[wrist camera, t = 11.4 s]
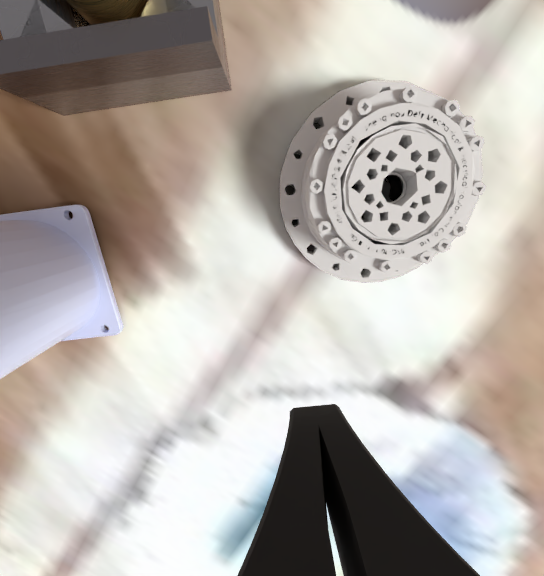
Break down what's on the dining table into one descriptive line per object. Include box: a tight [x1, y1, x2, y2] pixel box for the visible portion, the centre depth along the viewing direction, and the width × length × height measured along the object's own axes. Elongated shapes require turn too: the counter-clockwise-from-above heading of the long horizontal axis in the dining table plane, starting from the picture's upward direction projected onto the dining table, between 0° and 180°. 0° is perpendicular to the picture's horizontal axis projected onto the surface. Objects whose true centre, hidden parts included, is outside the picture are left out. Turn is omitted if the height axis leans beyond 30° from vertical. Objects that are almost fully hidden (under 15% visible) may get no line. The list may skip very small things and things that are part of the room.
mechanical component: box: [280, 80, 487, 283], centre depth 14 cm, size 10×4×10 cm
